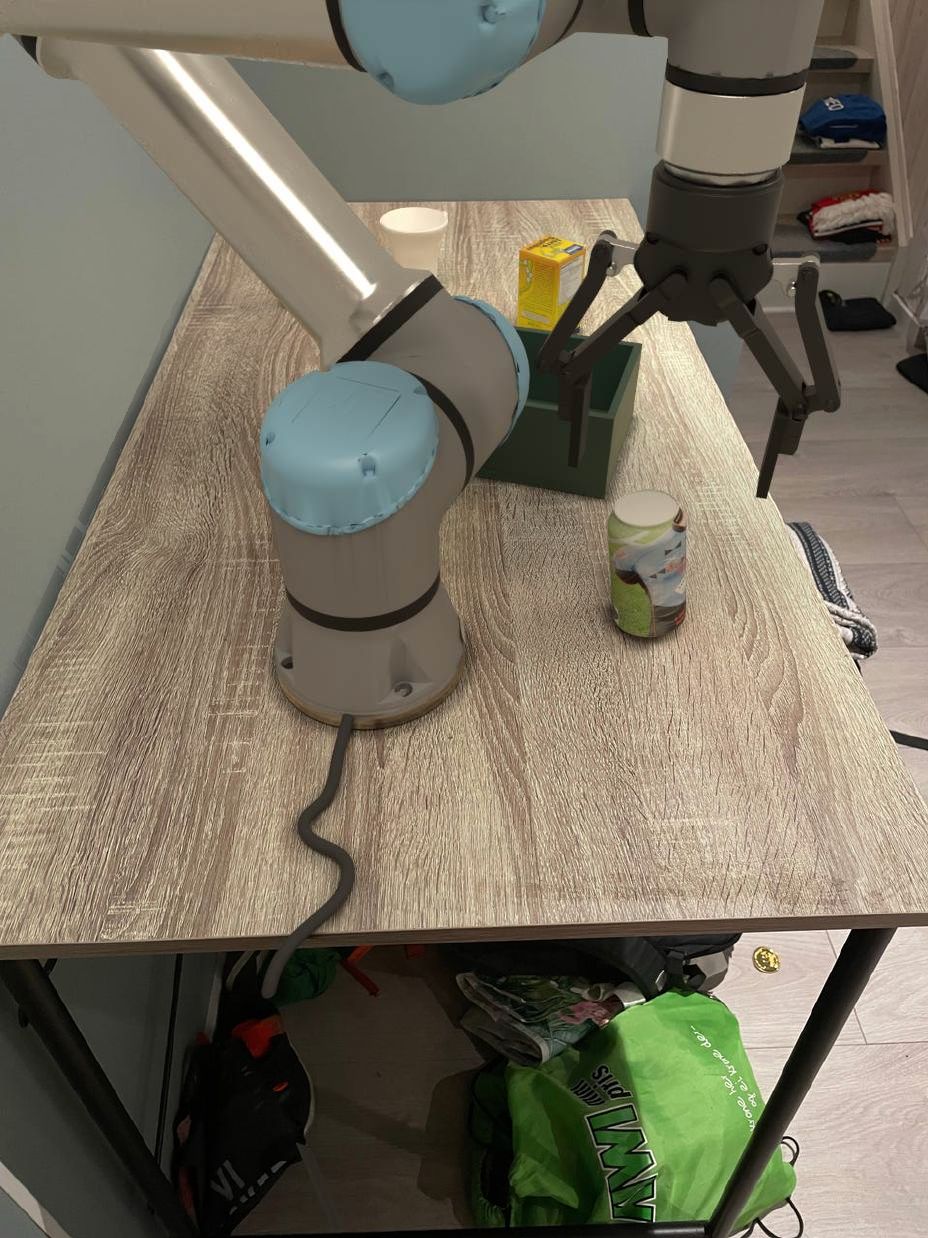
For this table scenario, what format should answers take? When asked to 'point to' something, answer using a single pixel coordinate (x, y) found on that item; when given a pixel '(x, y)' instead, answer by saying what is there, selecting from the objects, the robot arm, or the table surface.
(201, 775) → the table surface
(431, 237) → the cup
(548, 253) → the supplement box
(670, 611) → the beverage can
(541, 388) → the bin
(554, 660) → the table surface
